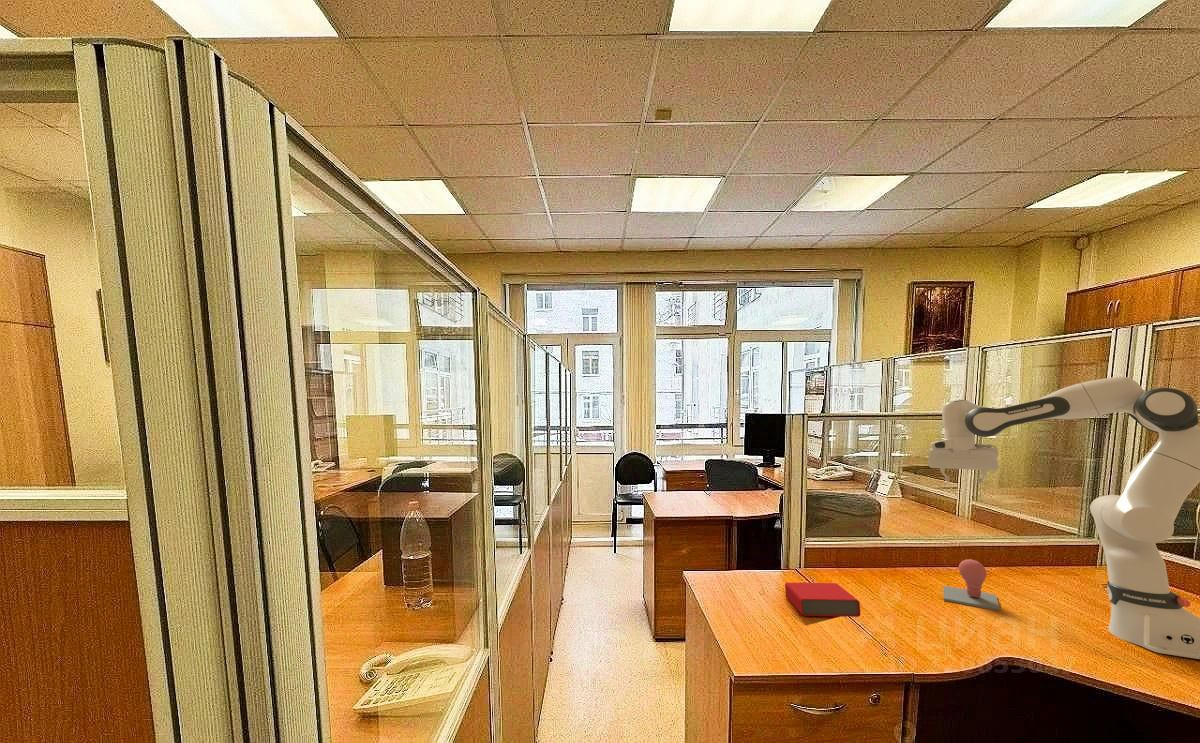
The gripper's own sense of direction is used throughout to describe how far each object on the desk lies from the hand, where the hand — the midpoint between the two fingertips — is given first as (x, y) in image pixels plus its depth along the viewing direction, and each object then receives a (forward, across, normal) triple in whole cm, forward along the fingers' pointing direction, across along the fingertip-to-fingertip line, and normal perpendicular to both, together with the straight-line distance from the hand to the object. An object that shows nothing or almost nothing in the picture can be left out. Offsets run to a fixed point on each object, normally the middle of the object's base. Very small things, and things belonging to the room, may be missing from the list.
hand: (963, 481), depth 161 cm
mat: (+37, +2, +14) cm, 40 cm away
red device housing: (+38, +41, +49) cm, 74 cm away
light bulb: (+36, 0, +14) cm, 39 cm away
